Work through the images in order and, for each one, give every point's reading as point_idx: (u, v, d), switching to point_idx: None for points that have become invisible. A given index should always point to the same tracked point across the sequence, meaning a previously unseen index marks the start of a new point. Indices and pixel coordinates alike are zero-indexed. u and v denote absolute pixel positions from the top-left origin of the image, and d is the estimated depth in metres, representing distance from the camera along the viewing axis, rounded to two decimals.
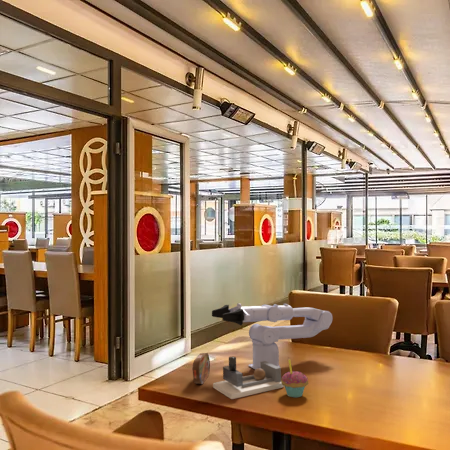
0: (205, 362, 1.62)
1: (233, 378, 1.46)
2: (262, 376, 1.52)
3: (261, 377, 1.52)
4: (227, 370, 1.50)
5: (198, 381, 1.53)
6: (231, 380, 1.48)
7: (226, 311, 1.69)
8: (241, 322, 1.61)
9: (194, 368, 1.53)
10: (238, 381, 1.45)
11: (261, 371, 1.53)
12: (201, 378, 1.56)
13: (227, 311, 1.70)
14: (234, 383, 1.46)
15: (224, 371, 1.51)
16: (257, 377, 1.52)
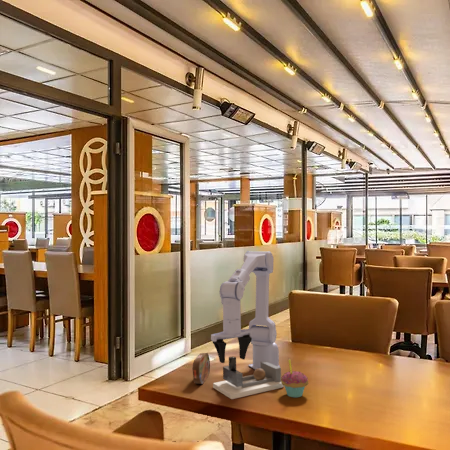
0: (205, 362, 1.62)
1: (233, 378, 1.46)
2: (262, 376, 1.52)
3: (261, 377, 1.52)
4: (227, 370, 1.50)
5: (198, 381, 1.53)
6: (231, 380, 1.48)
7: None
8: None
9: (194, 368, 1.53)
10: (238, 381, 1.45)
11: (261, 371, 1.53)
12: (201, 378, 1.56)
13: None
14: (234, 383, 1.46)
15: (224, 371, 1.51)
16: (257, 377, 1.52)
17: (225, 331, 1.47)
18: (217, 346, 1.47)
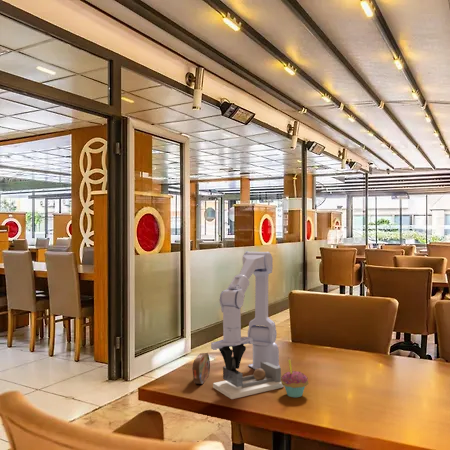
0: (205, 362, 1.62)
1: (233, 378, 1.46)
2: (262, 376, 1.52)
3: (261, 377, 1.52)
4: (227, 370, 1.50)
5: (198, 381, 1.53)
6: (231, 380, 1.48)
7: None
8: None
9: (194, 368, 1.53)
10: (238, 381, 1.45)
11: (261, 371, 1.53)
12: (201, 378, 1.56)
13: None
14: (234, 383, 1.46)
15: (224, 371, 1.51)
16: (257, 377, 1.52)
17: (225, 339, 1.47)
18: (223, 353, 1.49)
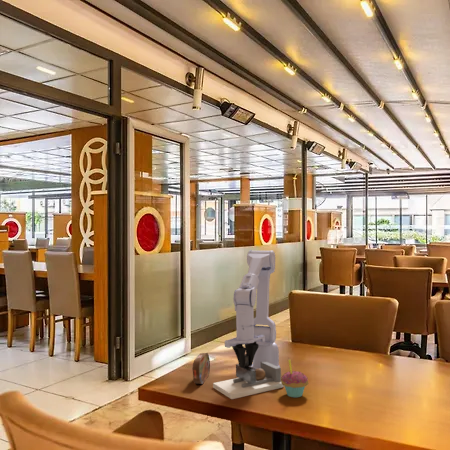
0: (205, 362, 1.62)
1: (247, 375, 1.49)
2: (262, 376, 1.52)
3: (261, 377, 1.52)
4: (240, 367, 1.52)
5: (198, 381, 1.53)
6: (244, 377, 1.50)
7: None
8: None
9: (194, 368, 1.53)
10: (251, 378, 1.47)
11: (261, 371, 1.53)
12: (201, 378, 1.56)
13: None
14: (247, 380, 1.49)
15: (237, 368, 1.54)
16: (257, 377, 1.52)
17: (238, 337, 1.50)
18: (237, 351, 1.51)
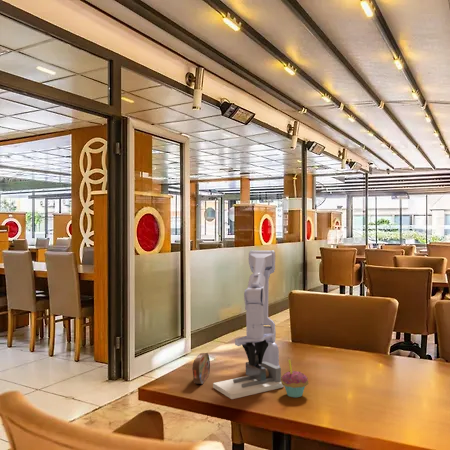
0: (205, 362, 1.62)
1: (257, 373, 1.51)
2: None
3: None
4: (250, 366, 1.54)
5: (198, 381, 1.53)
6: (254, 375, 1.52)
7: None
8: None
9: (194, 368, 1.53)
10: (261, 376, 1.49)
11: (267, 371, 1.54)
12: (201, 378, 1.56)
13: None
14: (257, 378, 1.50)
15: (247, 366, 1.56)
16: None
17: (248, 336, 1.52)
18: (247, 349, 1.53)
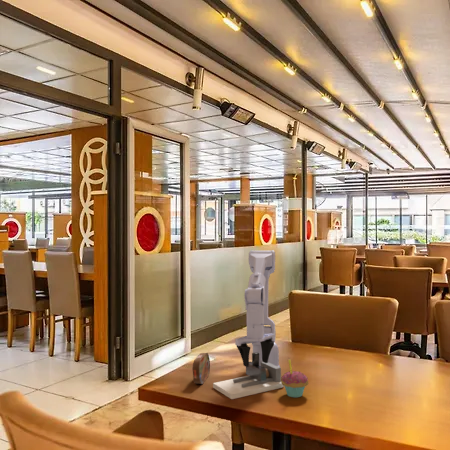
0: (205, 362, 1.62)
1: (257, 373, 1.51)
2: (266, 375, 1.53)
3: None
4: (250, 365, 1.54)
5: (198, 381, 1.53)
6: (254, 375, 1.52)
7: None
8: None
9: (194, 368, 1.53)
10: (262, 376, 1.49)
11: (267, 371, 1.54)
12: (201, 378, 1.56)
13: None
14: (258, 378, 1.50)
15: None
16: None
17: (249, 336, 1.52)
18: (241, 350, 1.52)
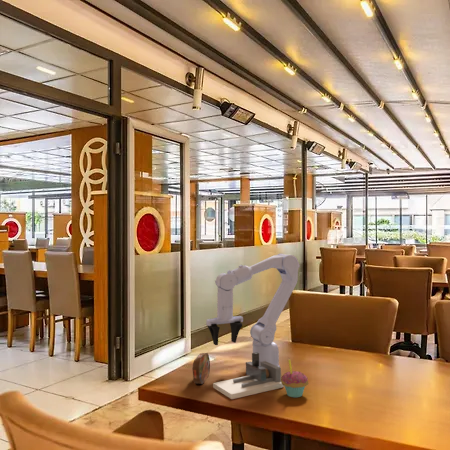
0: (205, 362, 1.62)
1: (257, 373, 1.51)
2: (266, 375, 1.53)
3: None
4: (250, 365, 1.54)
5: (198, 381, 1.53)
6: (254, 375, 1.52)
7: None
8: None
9: (194, 368, 1.53)
10: (262, 376, 1.49)
11: (267, 371, 1.54)
12: (201, 378, 1.56)
13: None
14: (258, 378, 1.50)
15: (247, 366, 1.56)
16: None
17: (219, 317, 1.67)
18: (211, 330, 1.67)
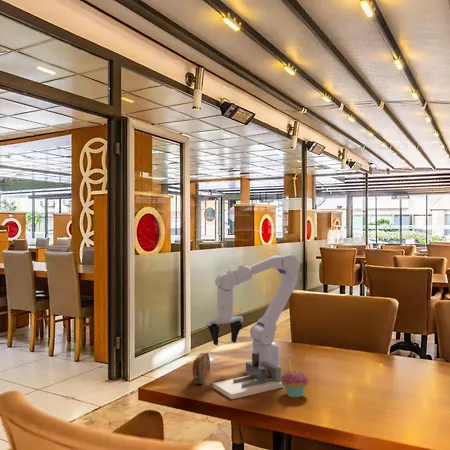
0: (205, 362, 1.62)
1: (257, 373, 1.51)
2: (266, 375, 1.53)
3: None
4: (250, 365, 1.54)
5: (198, 381, 1.53)
6: (254, 375, 1.52)
7: None
8: None
9: (194, 368, 1.53)
10: (262, 376, 1.49)
11: (267, 371, 1.54)
12: (201, 378, 1.56)
13: None
14: (258, 378, 1.50)
15: (247, 366, 1.56)
16: None
17: (219, 317, 1.67)
18: (211, 330, 1.67)
